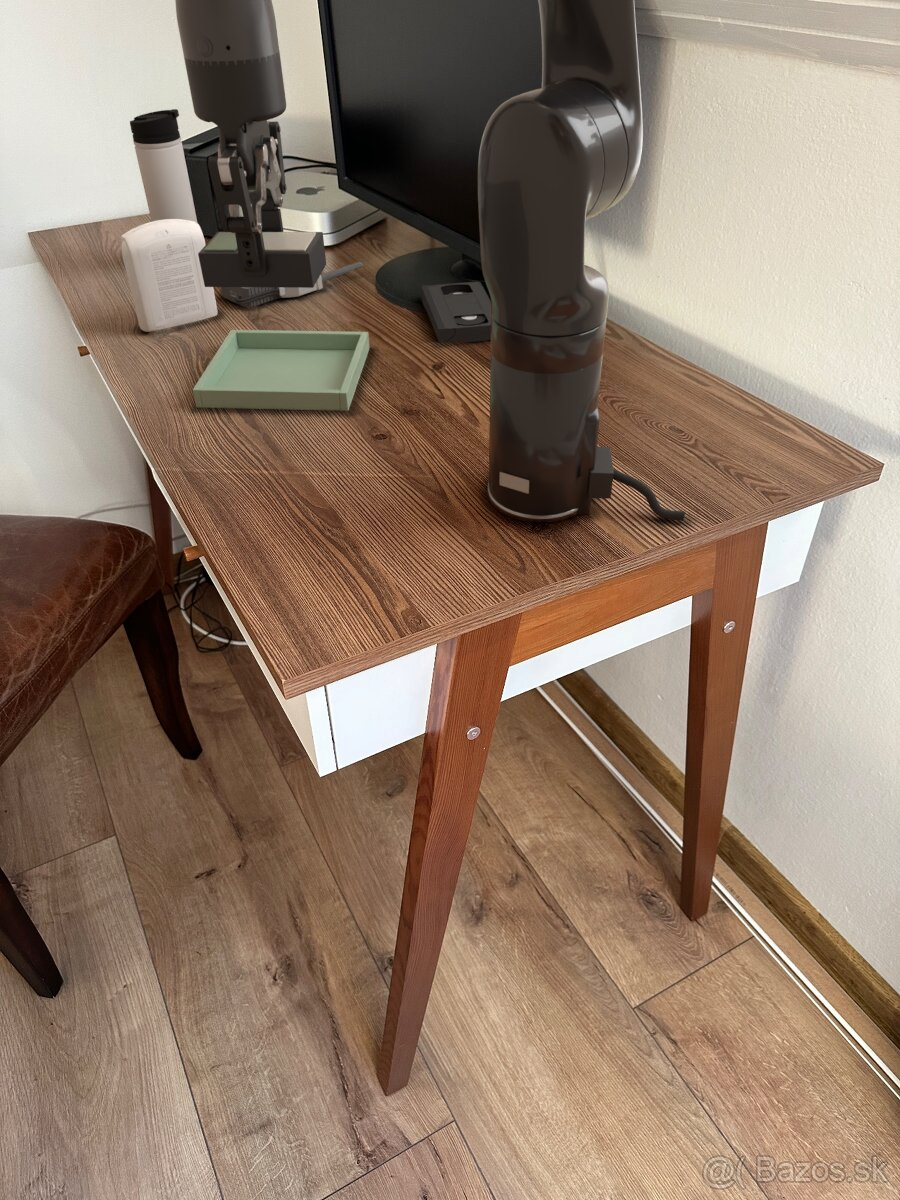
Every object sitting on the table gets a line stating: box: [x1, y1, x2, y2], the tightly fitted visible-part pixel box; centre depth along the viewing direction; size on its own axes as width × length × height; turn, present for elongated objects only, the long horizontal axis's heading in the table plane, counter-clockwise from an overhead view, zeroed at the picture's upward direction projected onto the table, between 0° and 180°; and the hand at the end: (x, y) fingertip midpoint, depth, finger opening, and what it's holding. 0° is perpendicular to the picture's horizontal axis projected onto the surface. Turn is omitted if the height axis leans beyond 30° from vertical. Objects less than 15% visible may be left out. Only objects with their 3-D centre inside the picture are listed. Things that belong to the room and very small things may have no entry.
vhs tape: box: [420, 281, 491, 344], centre depth 112 cm, size 14×8×2 cm, turn 10°
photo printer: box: [120, 219, 219, 333], centre depth 110 cm, size 10×4×12 cm, turn 123°
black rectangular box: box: [198, 231, 327, 288], centre depth 81 cm, size 10×6×3 cm, turn 85°
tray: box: [192, 329, 370, 411], centre depth 100 cm, size 17×16×2 cm
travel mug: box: [129, 108, 199, 224], centre depth 124 cm, size 6×7×20 cm
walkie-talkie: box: [220, 261, 364, 307], centre depth 121 cm, size 9×4×20 cm
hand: (265, 262), depth 81 cm, fingers closed on black rectangular box, 6 cm apart
